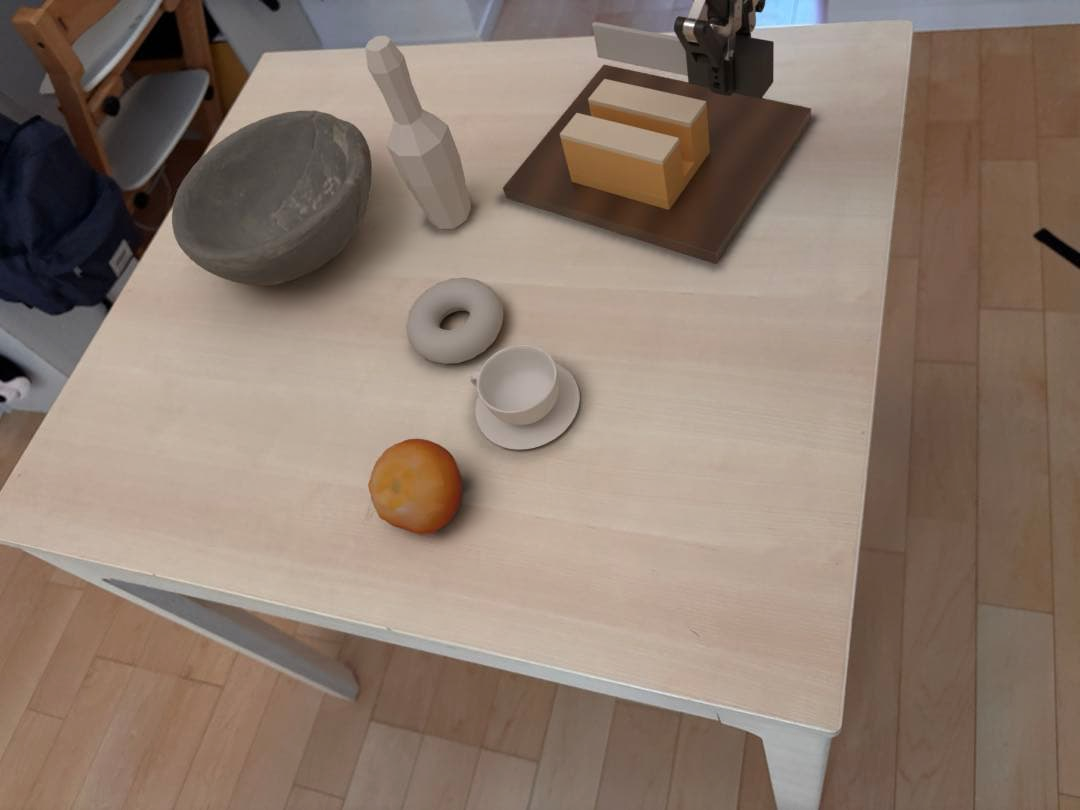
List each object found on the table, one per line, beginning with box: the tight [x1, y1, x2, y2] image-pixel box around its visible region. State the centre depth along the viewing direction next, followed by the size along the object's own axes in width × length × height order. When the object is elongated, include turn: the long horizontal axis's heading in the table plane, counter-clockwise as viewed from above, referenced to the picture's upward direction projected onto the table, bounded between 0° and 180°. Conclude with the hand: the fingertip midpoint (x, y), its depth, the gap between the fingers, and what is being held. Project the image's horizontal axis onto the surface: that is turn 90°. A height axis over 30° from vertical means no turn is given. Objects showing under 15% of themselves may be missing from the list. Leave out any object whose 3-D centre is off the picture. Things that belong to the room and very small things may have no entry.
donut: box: [405, 277, 504, 365], centre depth 87 cm, size 10×4×10 cm
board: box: [502, 64, 812, 264], centre depth 94 cm, size 26×22×2 cm
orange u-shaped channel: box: [560, 79, 710, 210], centre depth 90 cm, size 12×9×7 cm
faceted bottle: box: [364, 35, 472, 230], centre depth 89 cm, size 6×6×22 cm
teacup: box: [469, 343, 580, 450], centre depth 79 cm, size 10×10×5 cm
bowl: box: [171, 110, 373, 286], centre depth 97 cm, size 23×22×10 cm
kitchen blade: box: [591, 21, 775, 99], centre depth 76 cm, size 17×2×4 cm, turn 57°
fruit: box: [367, 438, 464, 535], centre depth 75 cm, size 8×8×8 cm
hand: (730, 80), depth 76 cm, fingers closed on kitchen blade, 2 cm apart
